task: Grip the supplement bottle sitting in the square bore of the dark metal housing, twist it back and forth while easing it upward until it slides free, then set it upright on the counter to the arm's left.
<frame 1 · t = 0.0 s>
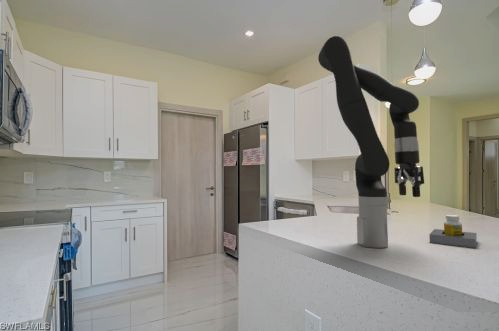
hand: (409, 196, 99), 17 cm above the counter, tool pointing down, fingers open, 8 cm apart
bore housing: (453, 241, 102), on the counter
supplement bottle: (453, 242, 102), resting in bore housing
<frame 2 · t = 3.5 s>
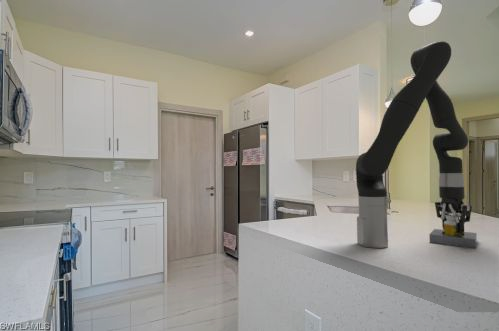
hand: (453, 231, 102), 4 cm above the counter, tool pointing down, fingers closed on supplement bottle, 5 cm apart
supplement bottle: (453, 242, 102), resting in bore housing, touching gripper
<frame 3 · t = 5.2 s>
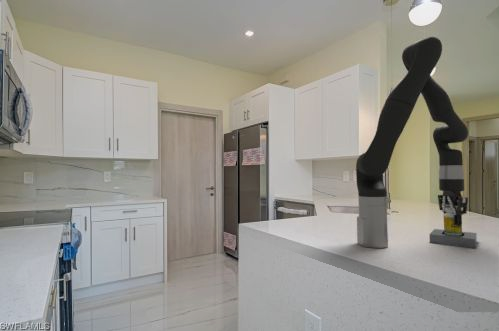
hand: (452, 223, 102), 7 cm above the counter, tool pointing down, fingers closed on supplement bottle, 5 cm apart
supplement bottle: (452, 234, 102), point 3 cm above the counter, touching gripper
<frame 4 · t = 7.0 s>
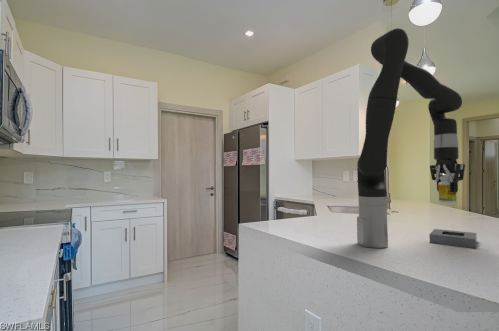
hand: (447, 191, 103), 18 cm above the counter, tool pointing down, fingers closed on supplement bottle, 5 cm apart
supplement bottle: (447, 202, 103), point 14 cm above the counter, touching gripper
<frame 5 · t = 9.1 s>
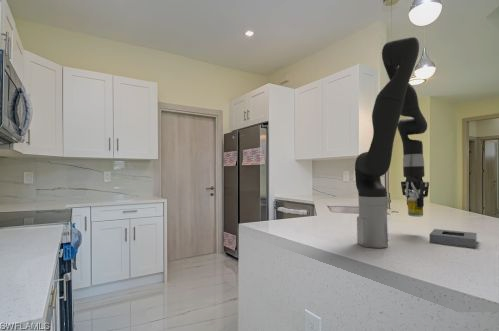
hand: (415, 206, 114), 12 cm above the counter, tool pointing down, fingers closed on supplement bottle, 5 cm apart
supplement bottle: (415, 216, 114), point 8 cm above the counter, touching gripper
when the fingers open (5 cm above the counter, at t = 10.7 s): supplement bottle drops 1 cm, on the counter.
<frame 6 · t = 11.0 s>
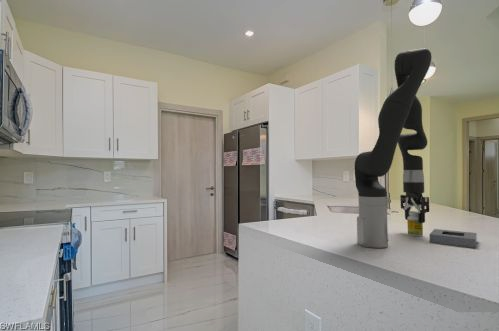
hand: (414, 221, 114), 6 cm above the counter, tool pointing down, fingers open, 7 cm apart
supplement bottle: (415, 235, 114), on the counter
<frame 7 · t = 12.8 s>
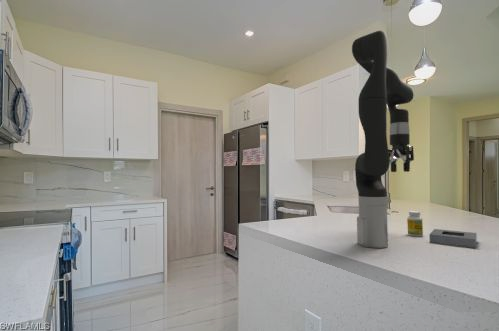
hand: (399, 171, 118), 26 cm above the counter, tool pointing down, fingers open, 8 cm apart
nothing on the counter moved.
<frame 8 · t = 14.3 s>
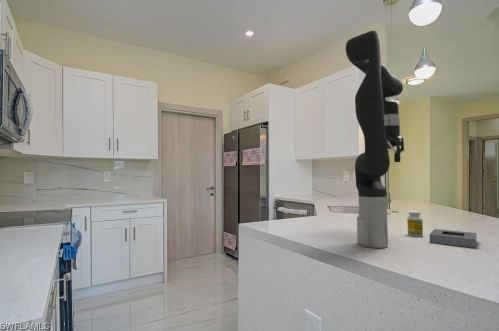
hand: (391, 162, 121), 30 cm above the counter, tool pointing down, fingers open, 8 cm apart
nothing on the counter moved.
at the end: supplement bottle inside the target area (0.1 cm from its centre), on the counter; supplement bottle tilted 0°; the gripper is holding nothing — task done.
